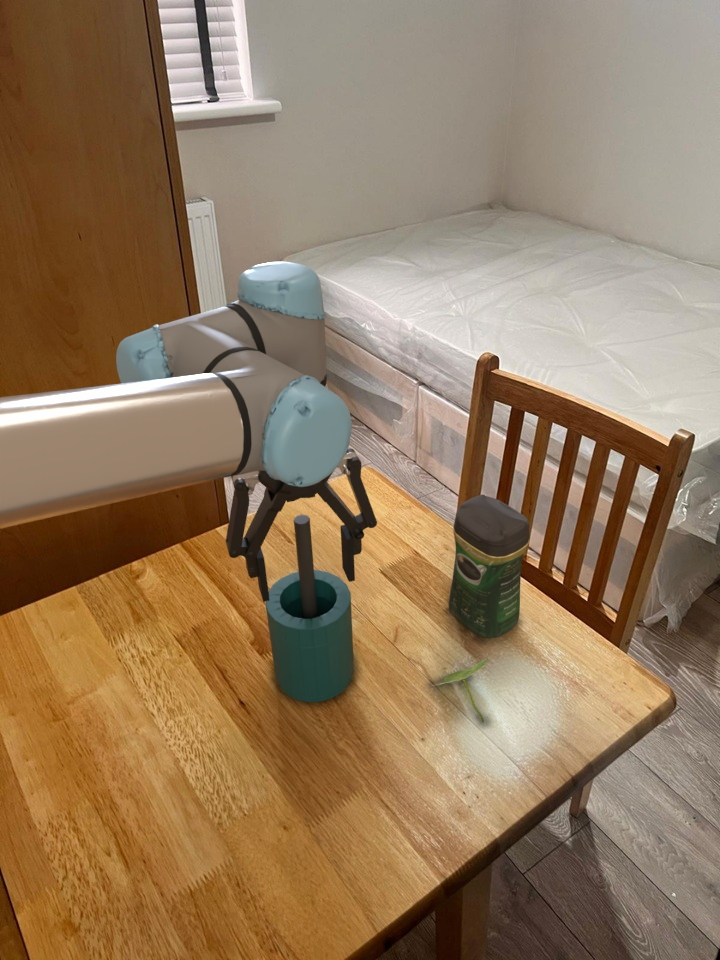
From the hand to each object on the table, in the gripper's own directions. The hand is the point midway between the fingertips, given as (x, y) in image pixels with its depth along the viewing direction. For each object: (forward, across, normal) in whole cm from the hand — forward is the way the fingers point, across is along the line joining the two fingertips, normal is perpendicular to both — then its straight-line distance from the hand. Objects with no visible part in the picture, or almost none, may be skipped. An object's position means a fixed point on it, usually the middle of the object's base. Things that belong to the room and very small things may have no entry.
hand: (307, 583), depth 87 cm
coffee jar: (+16, -25, -2) cm, 29 cm away
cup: (+15, 0, 0) cm, 15 cm away
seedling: (+16, -16, +10) cm, 24 cm away
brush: (+14, 0, 0) cm, 14 cm away
